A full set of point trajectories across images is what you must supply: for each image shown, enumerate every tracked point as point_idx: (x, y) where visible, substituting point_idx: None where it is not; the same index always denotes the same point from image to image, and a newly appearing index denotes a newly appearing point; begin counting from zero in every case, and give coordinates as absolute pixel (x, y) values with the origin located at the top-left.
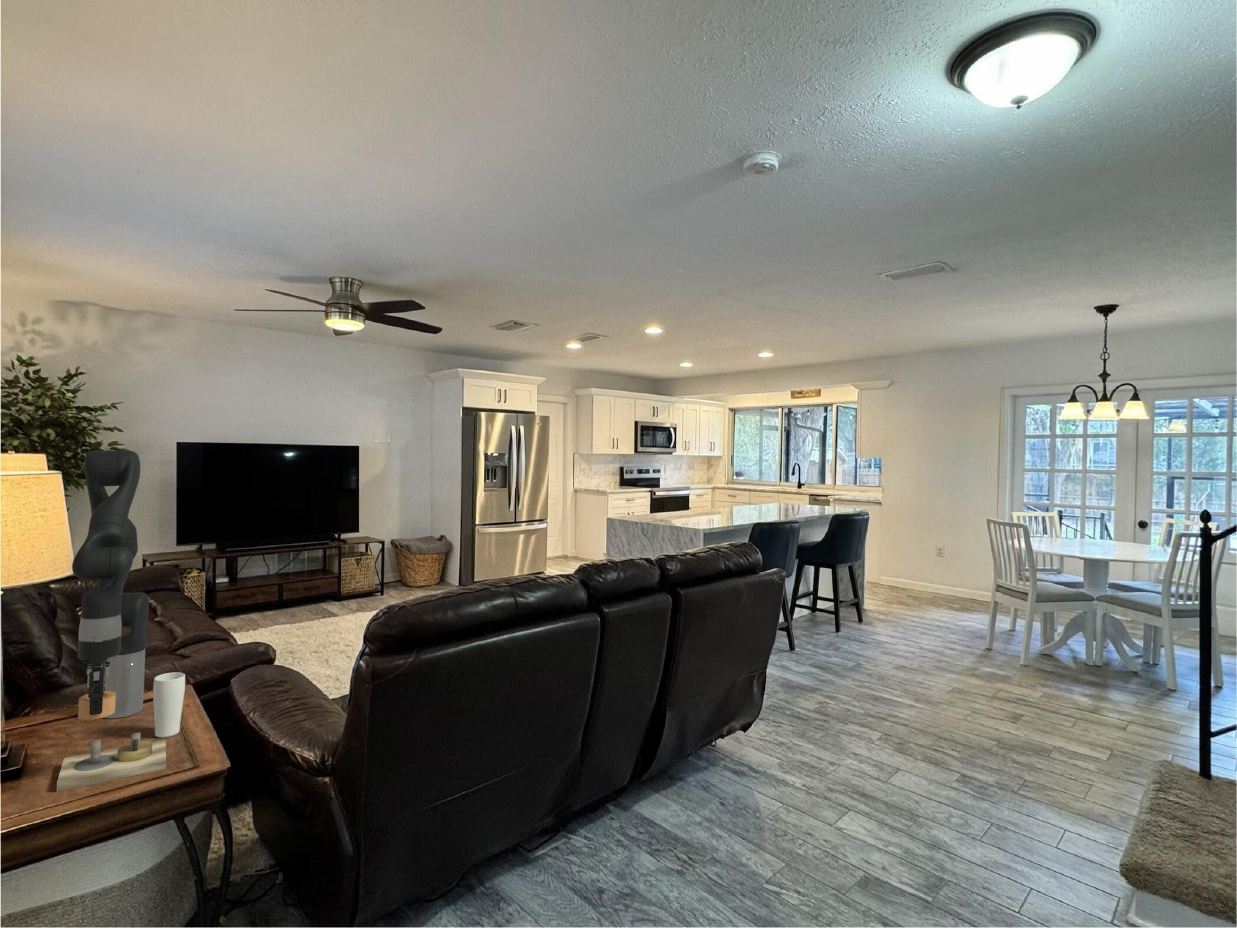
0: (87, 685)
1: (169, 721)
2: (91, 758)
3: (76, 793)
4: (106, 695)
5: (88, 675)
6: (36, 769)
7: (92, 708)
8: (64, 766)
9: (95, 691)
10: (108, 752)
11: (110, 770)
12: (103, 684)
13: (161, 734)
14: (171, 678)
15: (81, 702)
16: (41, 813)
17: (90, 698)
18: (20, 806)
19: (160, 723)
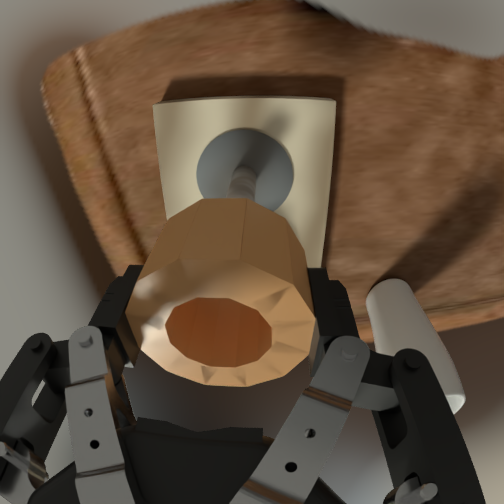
0: (67, 391)
1: (373, 325)
2: (233, 174)
3: (133, 145)
4: (247, 355)
5: (77, 466)
6: (348, 41)
7: (104, 296)
8: (264, 105)
9: (313, 330)
10: (306, 202)
11: (173, 212)
12: (54, 430)
13: (372, 292)
14: (450, 397)
15: (153, 267)
16: (68, 101)
17: (85, 330)
18: (117, 47)
19: (381, 309)
